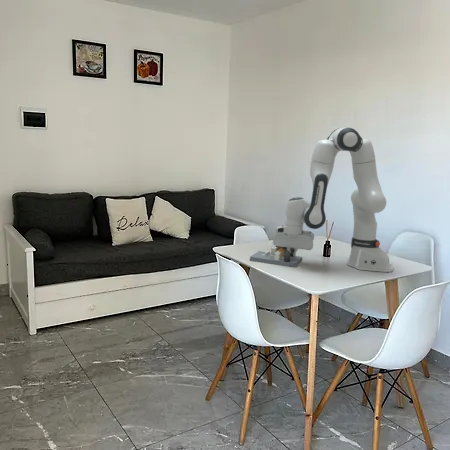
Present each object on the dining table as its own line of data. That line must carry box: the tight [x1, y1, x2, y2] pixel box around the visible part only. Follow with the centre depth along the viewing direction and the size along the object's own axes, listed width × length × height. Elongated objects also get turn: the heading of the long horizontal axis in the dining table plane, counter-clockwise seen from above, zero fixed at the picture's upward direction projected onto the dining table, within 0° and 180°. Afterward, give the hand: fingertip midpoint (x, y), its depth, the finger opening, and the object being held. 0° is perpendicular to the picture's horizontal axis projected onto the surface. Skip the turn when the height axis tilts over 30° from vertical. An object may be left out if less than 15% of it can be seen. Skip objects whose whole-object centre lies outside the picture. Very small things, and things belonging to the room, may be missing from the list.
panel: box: [249, 245, 304, 268], centre depth 236 cm, size 24×14×7 cm, turn 67°
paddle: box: [278, 248, 284, 257], centre depth 235 cm, size 2×4×4 cm, turn 157°
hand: (291, 256), depth 233 cm, fingers closed
